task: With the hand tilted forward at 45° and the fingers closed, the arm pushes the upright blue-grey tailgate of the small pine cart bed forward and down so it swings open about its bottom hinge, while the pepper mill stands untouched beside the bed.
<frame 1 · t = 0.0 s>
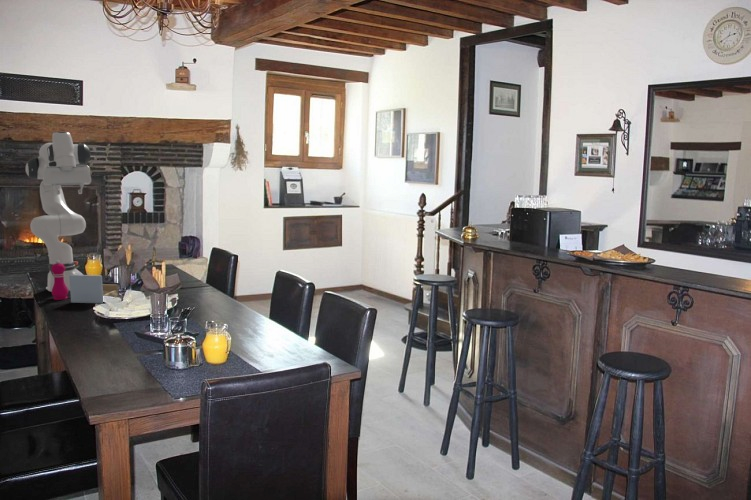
hand: (69, 193, 302), 52 cm above the table, tool tilted 20°, fingers open, 8 cm apart
cart bed: (96, 301, 315), on the table
pepper mill: (60, 301, 316), on the table
tailgate: (86, 289, 306), point 8 cm above the table, hinge at 0.0°
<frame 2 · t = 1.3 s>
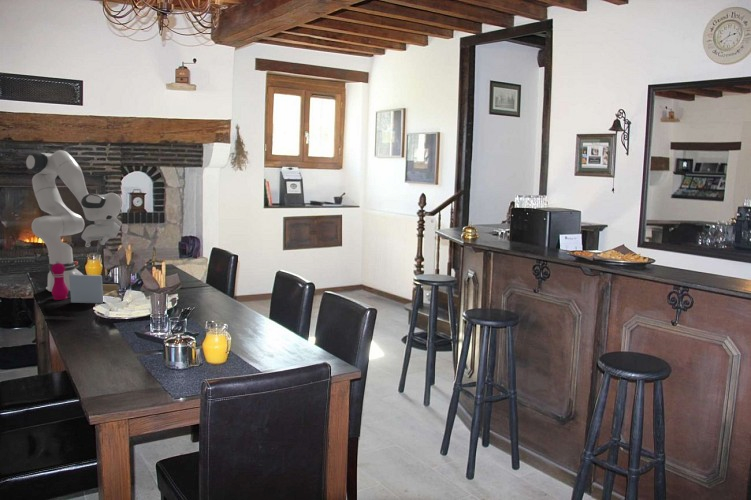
hand: (94, 245, 313), 27 cm above the table, tool tilted 45°, fingers open, 8 cm apart
nothing on the table moved.
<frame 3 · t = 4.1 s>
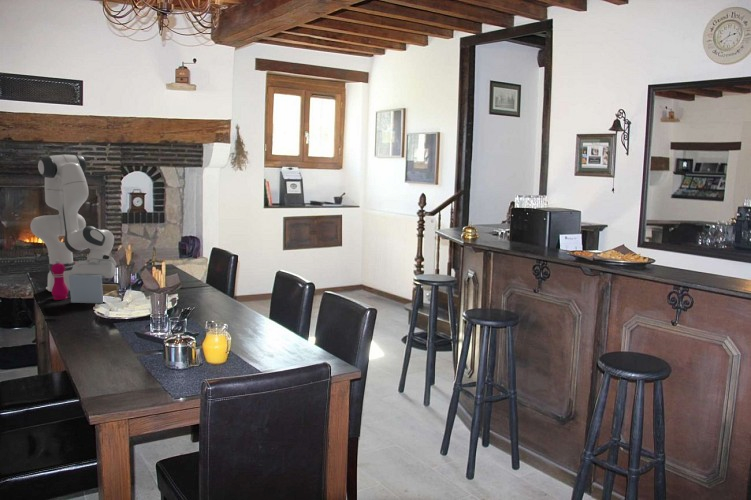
hand: (88, 284, 307), 10 cm above the table, tool tilted 45°, fingers closed, pressing on tailgate
tailgate: (86, 289, 306), point 8 cm above the table, hinge at 1.5°, touching gripper
everything else where it was.
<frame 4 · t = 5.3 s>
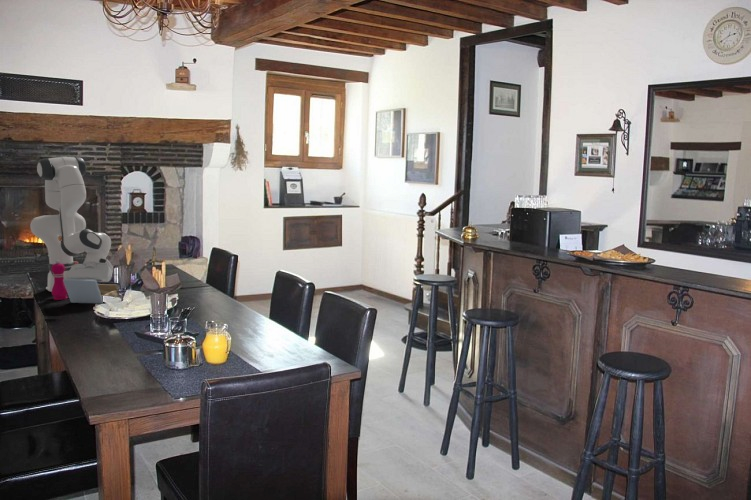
hand: (84, 288, 304), 9 cm above the table, tool tilted 45°, fingers closed, pressing on tailgate
tailgate: (83, 291, 304), point 7 cm above the table, hinge at 24.0°, touching gripper
everything else where it was.
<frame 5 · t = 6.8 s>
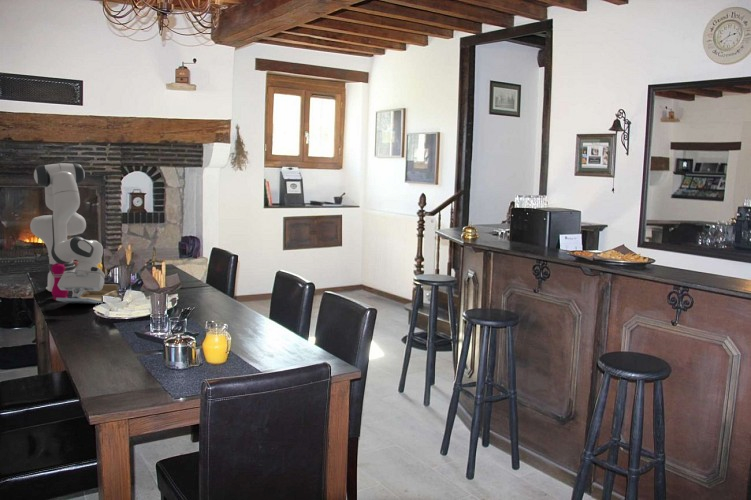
hand: (75, 297, 297), 6 cm above the table, tool tilted 45°, fingers closed
tailgate: (80, 301, 301), point 4 cm above the table, hinge at 70.1°, touching gripper
everything else where it was.
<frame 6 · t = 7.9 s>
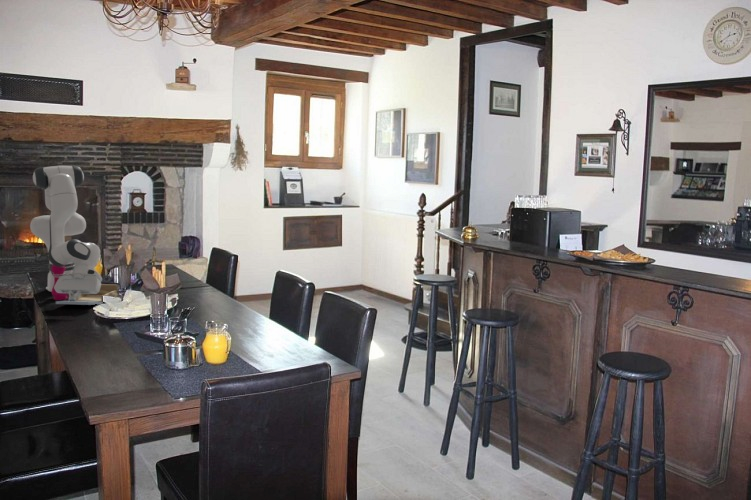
hand: (71, 300, 294), 5 cm above the table, tool tilted 45°, fingers closed, pressing on tailgate
tailgate: (80, 302, 301), point 3 cm above the table, hinge at 77.2°, touching gripper
everything else where it was.
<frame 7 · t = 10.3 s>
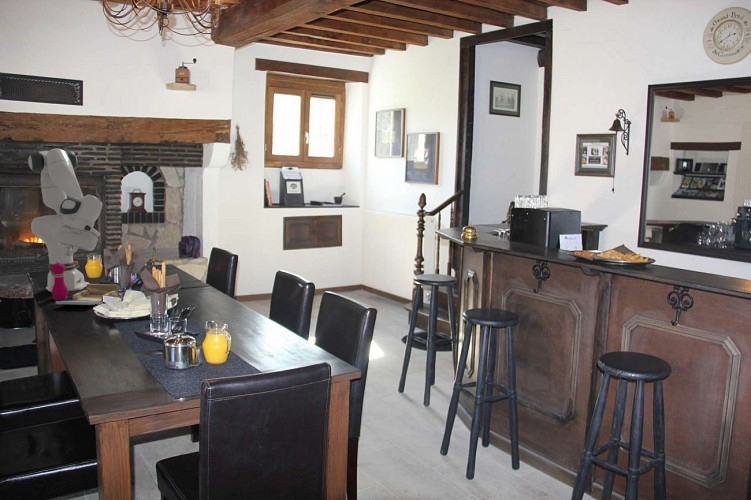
hand: (68, 255, 295), 25 cm above the table, tool tilted 35°, fingers closed
tailgate: (80, 302, 301), point 3 cm above the table, hinge at 77.2°
everything else where it was.
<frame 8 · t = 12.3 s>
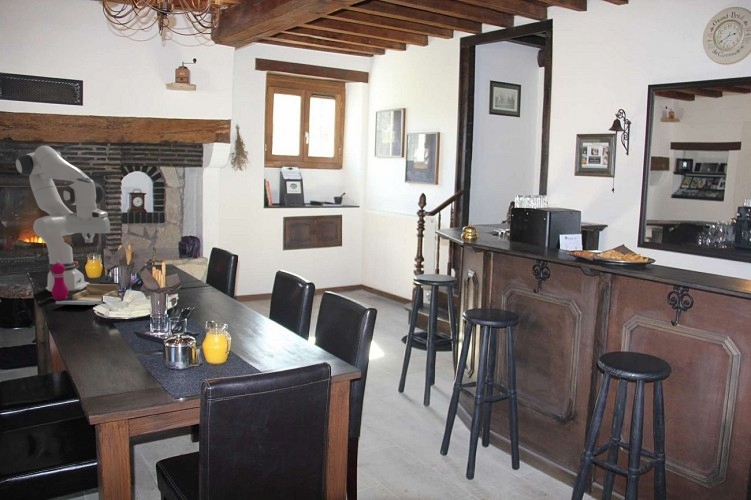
hand: (89, 242, 308), 29 cm above the table, tool pointing down, fingers closed
nothing on the table moved.
at the end: tailgate at +77° (first picture: +0°); the gripper is holding nothing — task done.
